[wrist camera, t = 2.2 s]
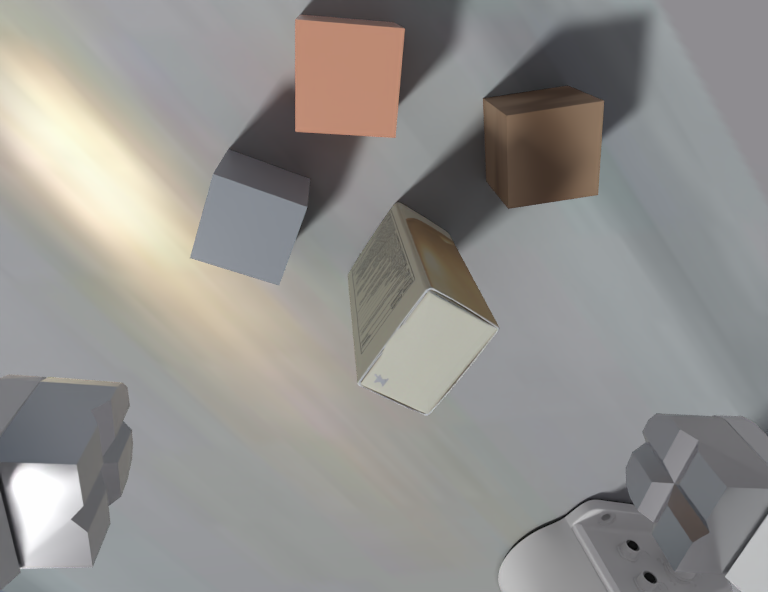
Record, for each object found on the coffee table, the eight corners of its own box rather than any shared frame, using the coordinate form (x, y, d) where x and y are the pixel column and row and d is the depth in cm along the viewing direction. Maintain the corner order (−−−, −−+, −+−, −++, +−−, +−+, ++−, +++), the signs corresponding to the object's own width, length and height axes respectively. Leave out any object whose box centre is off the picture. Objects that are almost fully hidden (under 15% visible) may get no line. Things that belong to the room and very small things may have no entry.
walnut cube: (567, 85, 32) (604, 100, 28) (564, 168, 35) (597, 194, 30) (482, 98, 32) (506, 115, 28) (485, 180, 35) (508, 208, 30)
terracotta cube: (393, 22, 30) (404, 28, 26) (386, 117, 32) (395, 137, 28) (300, 14, 29) (295, 19, 25) (299, 111, 32) (295, 131, 27)
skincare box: (398, 302, 38) (425, 423, 28) (345, 274, 37) (351, 390, 26) (453, 228, 36) (505, 330, 25) (398, 195, 35) (429, 287, 24)
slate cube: (310, 178, 34) (307, 207, 29) (285, 249, 36) (279, 285, 32) (228, 148, 32) (213, 173, 28) (207, 223, 35) (190, 257, 30)
